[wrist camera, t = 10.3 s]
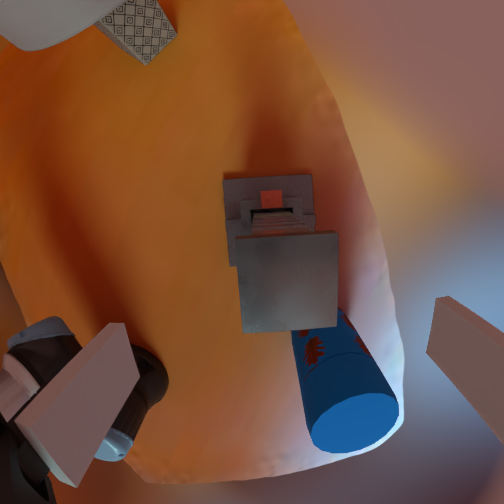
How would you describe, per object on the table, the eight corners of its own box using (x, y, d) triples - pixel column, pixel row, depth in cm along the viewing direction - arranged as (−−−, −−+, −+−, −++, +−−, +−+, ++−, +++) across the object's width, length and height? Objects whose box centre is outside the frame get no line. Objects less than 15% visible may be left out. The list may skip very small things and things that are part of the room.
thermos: (320, 289, 48) (367, 375, 24) (358, 323, 49) (415, 412, 25) (278, 331, 50) (288, 435, 26) (317, 362, 51) (346, 462, 27)
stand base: (230, 264, 48) (219, 291, 35) (223, 180, 45) (209, 176, 32) (314, 259, 47) (332, 284, 34) (310, 174, 44) (329, 169, 31)
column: (253, 248, 38) (243, 333, 15) (250, 208, 37) (234, 239, 14) (293, 245, 37) (336, 326, 15) (291, 206, 36) (338, 233, 14)
